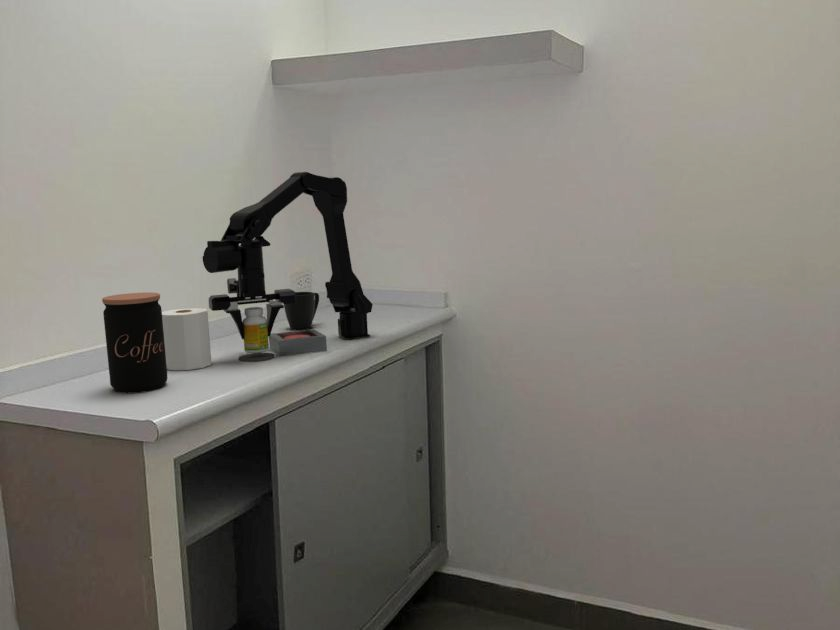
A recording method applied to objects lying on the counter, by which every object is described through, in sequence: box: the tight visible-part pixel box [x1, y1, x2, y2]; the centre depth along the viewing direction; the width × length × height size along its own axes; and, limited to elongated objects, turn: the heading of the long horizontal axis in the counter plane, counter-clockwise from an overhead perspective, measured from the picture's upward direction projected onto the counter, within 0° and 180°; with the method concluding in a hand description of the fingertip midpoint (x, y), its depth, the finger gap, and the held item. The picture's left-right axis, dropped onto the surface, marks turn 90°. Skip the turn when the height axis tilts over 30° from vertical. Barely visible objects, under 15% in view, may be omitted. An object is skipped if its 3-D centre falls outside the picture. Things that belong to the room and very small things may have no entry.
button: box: [284, 335, 310, 339], centre depth 195 cm, size 6×6×2 cm
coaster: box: [238, 352, 276, 363], centre depth 187 cm, size 8×8×1 cm
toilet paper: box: [162, 307, 213, 371], centre depth 181 cm, size 10×10×12 cm
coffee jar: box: [101, 292, 168, 394], centre depth 162 cm, size 11×11×18 cm
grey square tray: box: [268, 328, 328, 357], centre depth 195 cm, size 11×11×4 cm
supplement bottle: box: [242, 306, 270, 354], centre depth 186 cm, size 5×5×10 cm
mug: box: [283, 291, 320, 331], centre depth 226 cm, size 8×12×10 cm
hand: (255, 337), depth 187 cm, fingers closed on supplement bottle, 5 cm apart
